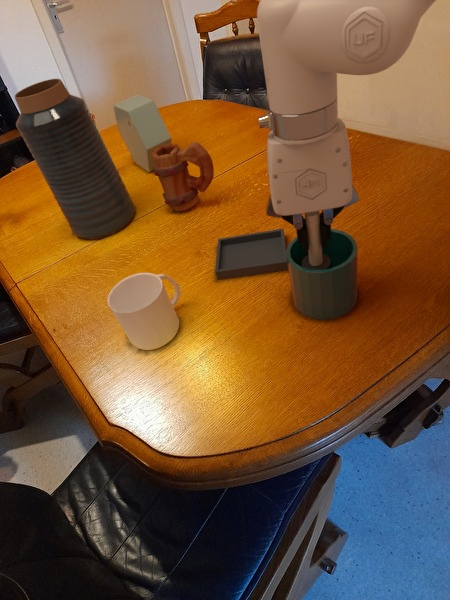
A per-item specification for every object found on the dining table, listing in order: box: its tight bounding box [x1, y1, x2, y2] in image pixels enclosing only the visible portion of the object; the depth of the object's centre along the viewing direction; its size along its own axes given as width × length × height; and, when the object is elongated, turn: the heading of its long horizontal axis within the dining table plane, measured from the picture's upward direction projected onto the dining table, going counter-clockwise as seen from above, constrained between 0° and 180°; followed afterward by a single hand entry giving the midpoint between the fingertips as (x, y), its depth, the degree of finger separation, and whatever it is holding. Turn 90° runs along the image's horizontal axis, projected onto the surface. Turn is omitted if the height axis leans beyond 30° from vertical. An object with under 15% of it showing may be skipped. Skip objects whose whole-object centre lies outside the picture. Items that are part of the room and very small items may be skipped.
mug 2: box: [152, 141, 215, 212], centre depth 92 cm, size 15×8×15 cm, turn 70°
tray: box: [214, 228, 289, 281], centre depth 77 cm, size 13×10×2 cm
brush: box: [301, 211, 331, 270], centre depth 60 cm, size 4×4×14 cm
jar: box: [286, 228, 359, 321], centre depth 63 cm, size 10×10×10 cm
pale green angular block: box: [112, 94, 173, 173], centre depth 113 cm, size 17×8×21 cm
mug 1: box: [107, 272, 182, 351], centre depth 67 cm, size 12×9×9 cm
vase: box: [14, 78, 136, 240], centre depth 90 cm, size 16×16×32 cm
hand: (314, 243), depth 59 cm, fingers closed on brush, 2 cm apart
